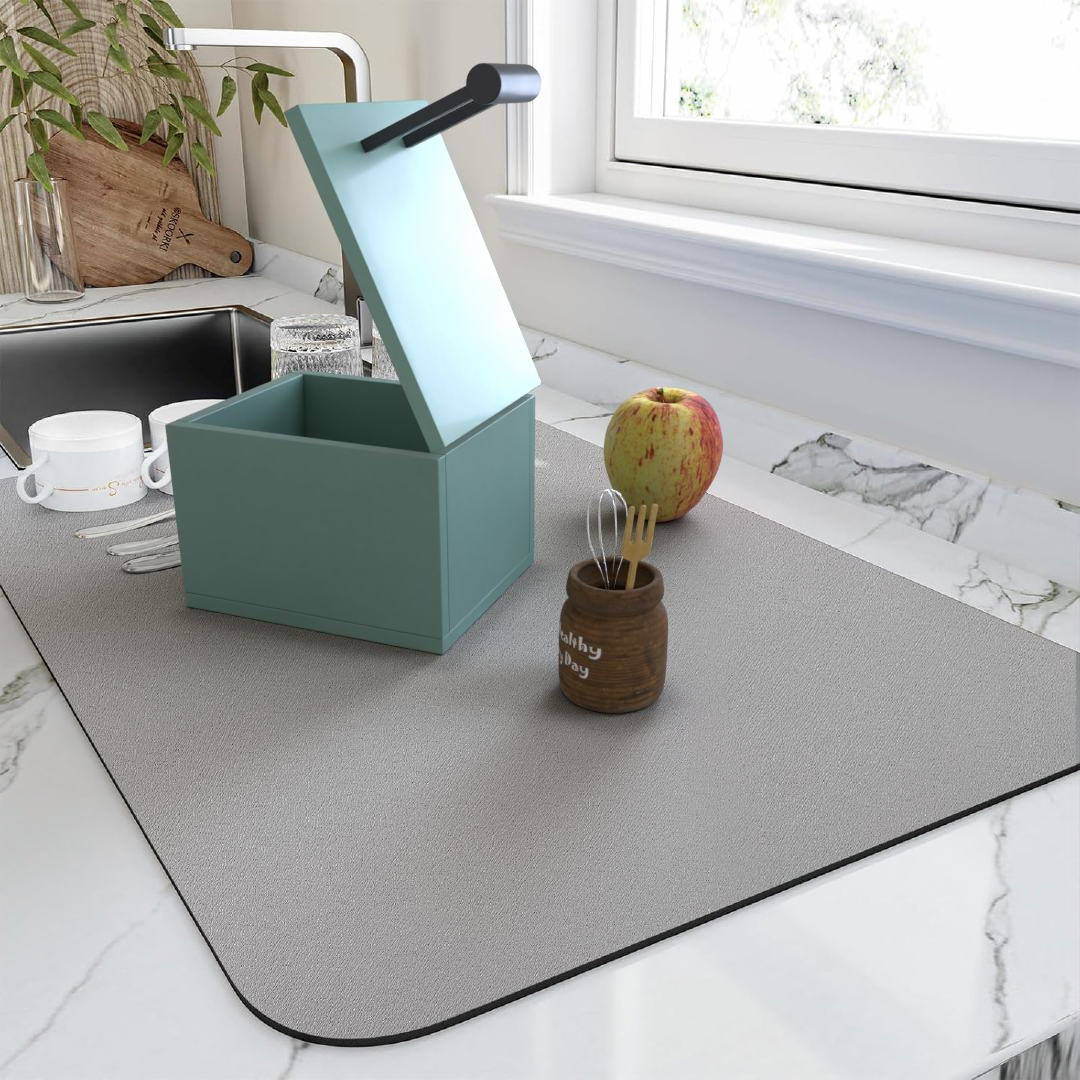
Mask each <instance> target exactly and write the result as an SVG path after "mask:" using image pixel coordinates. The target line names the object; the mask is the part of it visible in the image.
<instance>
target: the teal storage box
mask: <svg viewBox="0 0 1080 1080" xmlns="http://www.w3.org/2000/svg"><path fill="white" fill-rule="evenodd" d="M164 427H165V437H166V443H167V454H168V462H169V471H170V479H171V489H172V496H173V497H172V498H173V505H174V514H175V522H176V530H177V541H178V547H179V558H180V565H181V574H182V582H183V591H184V601H185V607H188V608H192V609H193V608H194V609H199V610H203V611H204V610H206V611H210V612H213V613H214V612H215V613H221V614H225V615H231V616H236V617H241V618H247V619H252V620H257V621H261V622H268V623H273V624H278V625H283V626H288V627H294V628H299V629H304V630H305V629H306V630H309V631H315V632H320V633H326V634H331V635H337V636H341V637H347V638H351V639H357V640H362V641H368V642H373V643H379V644H383V645H390V646H394V647H400V648H405V649H410V650H415V651H420V652H426V653H432V654H436V655H444V654H445V653H446V652H447V651H449V649H450V648H451V647H452V646H453V645H454V644H455V643H456V642H457V641H458V640H459V639H461V637H462V636H463V635H464V634H465V633H466V632H468V630H469V629H470V628H471V627H472V625H474V624H475V623H476V622H477V620H479V618H481V616H483V615H484V613H486V611H487V610H489V608H491V606H492V605H493V604H494V603H495V602H496V601H497V600H498V599H499V598H500V597H501V596H502V595H503V594H504V593H505V592H506V591H507V590H508V589H509V588H510V587H511V586H512V585H513V584H514V583H515V582H516V581H517V580H518V579H519V578H520V577H521V576H522V575H523V574H524V573H525V572H526V571H527V569H529V568H530V566H532V565H533V564H534V562H535V500H536V499H535V493H536V489H535V487H536V486H535V484H536V482H535V481H536V480H535V478H536V394H532V393H527V394H526V395H524V396H523V397H521V398H520V399H518V400H517V401H515V402H514V403H512V404H511V405H509V406H507V407H506V408H504V409H503V410H501V411H500V412H498V413H497V414H495V415H494V416H492V417H491V418H489V419H488V420H486V421H485V422H483V423H482V424H480V425H478V426H477V427H475V428H474V429H472V430H471V431H469V432H468V433H466V434H465V435H463V436H462V437H460V438H459V439H457V440H456V441H454V442H452V443H451V444H449V445H448V446H446V447H445V448H442V449H439V450H436V451H434V452H430V450H429V448H428V445H427V443H426V441H425V438H424V436H423V434H422V431H421V429H420V427H419V424H418V422H417V420H416V417H415V415H414V413H413V411H412V408H411V406H410V404H409V401H408V399H407V397H406V394H405V392H404V390H403V387H402V385H401V383H400V381H399V379H398V380H397V379H390V378H381V377H372V376H363V375H352V374H344V373H334V372H324V371H316V370H315V371H314V370H306V369H297V370H295V371H292V372H290V373H287V374H285V375H283V376H280V377H278V378H275V379H272V380H270V381H268V382H266V383H263V384H260V385H258V386H256V387H253V388H251V389H248V390H246V391H244V392H242V393H239V394H236V395H234V396H232V397H231V396H230V397H228V398H227V399H225V400H221V401H218V402H217V403H214V404H212V405H209V406H207V407H205V408H203V409H199V410H198V411H195V412H192V413H189V414H188V415H185V416H183V417H180V418H177V419H176V420H173V421H171V422H168V423H166V424H164Z"/></svg>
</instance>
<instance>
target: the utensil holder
mask: <svg viewBox="0 0 1080 1080" xmlns="http://www.w3.org/2000/svg"><path fill="white" fill-rule="evenodd" d="M606 492H608V494H609V495H610V498H611V501H612V504H613V505H612V506H613V511H614V512H613V513H614V530H615V531H614V533H615V547H614V555H609V556H608V555H605V553H604V545H603V539H602V526H601V524H602V523H601V521H600V516H601V501H602V497H603V495H604V493H606ZM616 492H617V491H615V492H614V490H613V489H599V490H598V491H596V492H595V493H594V494H593V495H592V496H591V497H590V499H589V501H588V504H587V513H586V528H587V539H588V545H589V549H590V550H591V554H592V556H593V557H591V558H587V559H584V560H581V561H579V562H577V563H575V564H574V565H573V566H572V567H571V568H570V569H569V571H568V575H567V579H566V584H565V592H566V595H567V598H566V599H565V601H564V602H563V604H562V607H561V610H560V615H559V621H558V622H559V626H558V654H557V655H558V660H557V661H558V662H557V663H558V669H557V670H558V680H559V681H558V682H559V686H560V689H561V691H562V693H563V695H564V696H565V697H566V698H567V699H568V700H569V701H571V702H572V703H574V704H575V705H577V706H579V707H581V708H583V709H586V710H589V711H594V712H599V713H608V714H622V713H623V714H625V713H630V712H631V713H632V712H636V711H639V710H642V709H645V708H647V707H649V706H651V705H652V704H654V703H656V701H657V700H658V699H660V696H661V695H662V693H663V691H664V687H665V682H666V676H667V675H666V674H667V664H668V663H667V662H668V646H669V617H668V612H667V609H666V606H665V604H664V603H663V601H662V600H663V599H664V596H665V583H664V577H663V573H662V572H661V570H660V569H659V568H658V567H656V566H655V565H653V564H651V563H650V562H647V561H645V560H643V559H645V558H647V557H648V556H649V555H650V554H651V551H652V547H653V546H652V545H653V540H654V539H653V538H654V531H655V527H656V522H655V521H656V515H657V508H658V505H657V504H653V505H652V507H651V512H650V517H649V520H648V523H647V528H646V533H645V538H644V539H643V531H644V525H645V520H646V519H645V514H646V506H645V505H642V506H641V507H640V511H639V516H637V522H636V527H635V533H634V538H633V540H632V541H631V539H632V532H633V526H634V525H633V524H634V518H635V514H634V512H635V508H634V507H633V506H630V507H629V510H628V509H627V505H626V502H625V500H624V498H623V497H622V495H621V494H620V493H618V492H617V493H616ZM615 493H616V494H618V495H619V494H620V495H621V496H620V495H619V496H620V497H621V499H622V498H623V499H622V500H623V502H624V504H625V506H624V507H625V515H626V521H625V526H624V528H625V529H624V531H623V538H622V544H621V549H620V555H621V556H617V540H618V521H617V520H618V519H617V518H618V517H617V504H616V498H615V496H614V495H616V494H615ZM599 494H600V497H599V503H598V512H597V515H598V516H597V517H598V518H597V519H598V523H599V527H598V540H599V541H598V543H599V550H600V555H601V556H596V554H595V551H594V548H593V544H592V541H591V535H590V522H589V521H590V519H589V518H590V517H589V511H590V505H591V503H592V500H593V499H594V497H596V496H597V495H599ZM642 539H643V540H642Z"/></svg>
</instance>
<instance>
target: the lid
mask: <svg viewBox="0 0 1080 1080" xmlns="http://www.w3.org/2000/svg"><path fill="white" fill-rule="evenodd" d="M541 90H542V78H541V74H540V73H539V71H538V70H537V69H536V68H535V66H532V65H531V64H527V63H500V62H499V63H498V62H497V63H496V62H480V63H477V64H475V65H474V66H473V67H471V69H470V70H469V71H468V73H467V76H466V80H465V85H464V86H463V87H460V88H458V89H456V90H454V91H453V92H451V93H449V94H447V95H445V96H443V97H441V98H439V99H437V100H436V101H433V102H432V103H430V104H429V103H428V100H427V99H412V100H411V99H410V100H408V99H407V100H383V101H357V102H356V101H355V102H353V101H352V102H330V103H329V102H327V103H300V104H296V105H293V106H292V107H290V108H288V109H287V110H285V111H283V115H284V117H285V119H286V122H287V124H288V127H289V129H290V131H291V133H292V136H293V139H294V141H295V143H296V145H297V147H298V149H299V153H300V154H301V156H302V159H303V161H304V164H305V165H306V168H307V170H308V173H309V175H310V177H311V180H312V182H313V184H314V186H315V188H316V191H317V193H318V196H319V198H320V200H321V203H322V205H323V208H324V209H325V212H326V214H327V216H328V219H329V221H330V223H331V226H332V227H333V231H334V233H335V235H336V237H337V240H338V242H339V244H340V247H341V249H342V251H343V253H344V255H345V258H346V261H347V262H348V265H349V267H350V270H351V272H352V273H353V277H354V279H355V281H356V283H357V285H358V288H359V290H360V292H361V295H362V298H363V300H364V302H365V304H366V306H367V309H368V311H369V313H370V316H371V319H372V321H373V323H374V325H375V327H376V330H377V332H378V334H379V337H380V339H381V341H382V344H383V346H384V348H385V350H386V352H387V355H388V357H389V360H390V362H391V365H392V367H393V369H394V371H395V373H396V376H397V378H398V380H399V381H400V383H401V385H402V387H403V390H404V392H405V394H406V397H407V399H408V401H409V404H410V406H411V408H412V411H413V413H414V415H415V417H416V420H417V422H418V424H419V427H420V429H421V431H422V434H423V436H424V438H425V441H426V443H427V445H428V448H429V450H430V452H434V451H436V450H439V449H442V448H445V447H446V446H448V445H449V444H451V443H452V442H454V441H456V440H457V439H459V438H460V437H462V436H463V435H465V434H466V433H468V432H469V431H471V430H472V429H474V428H475V427H477V426H478V425H480V424H482V423H483V422H485V421H486V420H488V419H489V418H491V417H492V416H494V415H495V414H497V413H498V412H500V411H501V410H503V409H504V408H506V407H507V406H509V405H511V404H512V403H514V402H515V401H517V400H518V399H520V398H521V397H523V396H524V395H526V394H530V392H532V391H533V390H535V389H537V388H538V387H540V386H541V385H542V380H541V378H540V376H539V373H538V371H537V368H536V366H535V362H534V361H533V359H532V356H531V354H530V351H529V348H528V346H527V343H526V341H525V339H524V337H523V334H522V330H521V329H520V326H519V324H518V322H517V319H516V317H515V314H514V312H513V309H512V306H511V304H510V302H509V300H508V297H507V294H506V292H505V289H504V287H503V284H502V282H501V280H500V277H499V275H498V272H497V269H496V267H495V265H494V263H493V260H492V257H491V255H490V253H489V249H488V247H487V244H486V241H485V240H484V238H483V235H482V233H481V230H480V228H479V225H478V223H477V220H476V218H475V215H474V214H473V209H472V208H471V205H470V203H469V201H468V198H467V195H466V193H465V191H464V189H463V186H462V183H461V181H460V179H459V176H458V173H457V172H456V169H455V167H454V163H453V161H452V159H451V157H450V154H449V151H448V149H447V147H446V144H445V142H444V139H443V137H442V133H444V132H446V131H448V130H449V129H452V128H453V127H456V126H458V125H459V124H462V123H464V122H465V121H467V120H470V119H471V118H473V117H475V116H477V115H479V114H481V113H483V112H485V111H487V110H489V109H491V108H493V107H495V106H497V105H506V104H523V103H524V104H525V103H530V102H533V101H534V100H535V99H536V98H537V97H538V96H539V94H540V92H541Z"/></svg>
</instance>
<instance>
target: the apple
mask: <svg viewBox="0 0 1080 1080" xmlns="http://www.w3.org/2000/svg"><path fill="white" fill-rule="evenodd" d="M722 433H723V432H722V427H721V423H720V419H719V417H718V415H717V413H716V411H715V409H714V407H713V406H712V404H711V403H710V402H709V401H708V400H707V399H706V398H704V397H703V396H702V395H699V394H697V393H695V392H693V391H689V390H686V389H682V388H676V387H675V388H674V387H659V386H657V387H650V388H647V389H645V390H642V391H639V392H637V393H635V394H633V395H631V396H630V397H628V398H627V399H625V400H623V401H622V402H621V404H620V405H619V406H618V407H617V408H616V410H615V412H614V413H613V415H612V416H611V418H610V420H609V422H608V425H607V426H606V431H605V433H604V441H603V460H604V461H603V462H604V467H605V470H606V471H605V472H606V474H607V477H608V480H609V483H610V486H611V488H612V490H614V492H615V491H617V492H618V493H620V494H621V495H622V497H623V498H624V500H625V502H626V505H627V511H628V510H629V507H630V506H633V507H634V508H635V512H634V516H637V517H638V516H639V511H640V507H641V506H642V505H645V506H646V514H645V520H646V521H649V517H650V512H651V507H652V505H653V504H657V505H658V508H657V515H656V521H655V523H665V522H669V521H672V520H676V519H678V518H681V517H683V516H684V515H686V514H687V513H688V512H690V511H691V510H692V509H694V507H696V506H697V504H699V502H701V500H702V499H703V497H704V496H705V494H706V493H707V491H708V490H709V489H710V487H711V486H712V483H713V482H714V480H715V478H716V475H717V473H718V471H719V468H720V465H721V463H722V462H721V461H722V458H723V450H724V438H723V434H722ZM614 492H613V493H614ZM617 492H616V493H617ZM616 493H614V495H615V496H616V498H617V500H618V501H619V502H620V504H621V505H623V507H625V504H624V502H623V500H622V499H623V498H622V499H621V497H620V496H621V495H620V494H619V495H620V496H619V495H618V494H616Z"/></svg>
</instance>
